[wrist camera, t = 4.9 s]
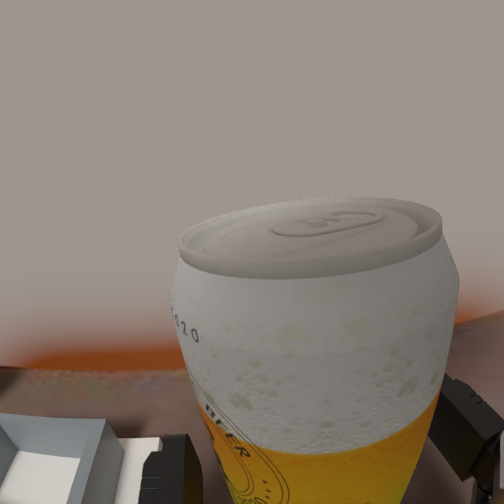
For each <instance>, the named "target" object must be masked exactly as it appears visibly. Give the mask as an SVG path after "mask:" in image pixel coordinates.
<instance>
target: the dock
mask: <svg viewBox="0 0 504 504" xmlns="http://www.w3.org/2000/svg"><path fill="white" fill-rule="evenodd" d="M162 445H163V444H162V441H161V439H160V437H156V438H118V439H117V437H116V435H115V433H114V432H113V430H112V428H111V426H110V424H109V423H108V421H107V419H73V418H50V417H36V416H24V415H14V414H6V413H0V504H138V498H139V491H140V483H141V479H142V477H141V476H142V470H143V463H144V462H145V460H146V459H147V457H148V456H149V454H150V453H151V451H162Z"/></svg>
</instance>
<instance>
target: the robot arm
mask: <svg viewBox="0 0 504 504" xmlns="http://www.w3.org/2000/svg"><path fill="white" fill-rule="evenodd" d="M427 435H428V436H429V437H430V439H431V440H432V441H433V443H434V444H435V446H436V447H437V448H438V450H439V451H440V452H441V454H442V455H443V456H444V458H445V459H446V460H447V462H448V463H449V465H450V466H451V467H452V469H453V470H454V471H455V473H456V474H457V476H458V477H459V478H460V480H461V481H462V482H463V481H465V480H467V479H468V478H470V477H472V476H473V477H474V478H475V481H474V484H473V491H472V498H471V504H504V420H503V419H502V418H501V417H500V416H499V415H498V414H497V413H496V412H495V411H494V410H493V409H492V408H491V407H490V406H489V405H488V404H487V403H486V402H485V401H483V399H482V398H481V397H480V396H479V395H477V394H476V392H475V391H474V390H473V389H472V388H471V387H470V386H469V385H467V384H465V383H463V382H461V381H459V380H457V379H455V380H452V379H451V378H450V377H449V376H448V375H447V374H446V373H444V377H443V381H442V385H441V389H440V393H439V397H438V401H437V404H436V408H435V411H434V415H433V418H432V421H431V425H430V428H429V431H428V434H427ZM141 477H142V479H141V483H140V491H139V498H138V504H203V476H202V468H201V464H200V461H199V458H198V456H197V454H196V451H195V449H194V447H193V444H192V442H191V439H190V437H189V435H188V434H177V435H165V436H164V438H163V445H162V451H151V453H150V454H149V456H148V457H147V459H146V460H145V462H144V463H143V470H142V476H141Z"/></svg>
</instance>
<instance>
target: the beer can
mask: <svg viewBox="0 0 504 504" xmlns="http://www.w3.org/2000/svg"><path fill="white" fill-rule="evenodd" d="M178 247H179V252H180V257H179V261H178V265H177V269H176V273H175V277H174V282H173V286H172V290H171V294H170V300H169V301H170V309H171V313H172V316H173V320H174V324H175V328H176V331H177V335H178V339H179V343H180V346H181V350H182V353H183V357H184V360H185V364H186V367H187V371H188V374H189V377H190V381H191V384H192V387H193V390H194V393H195V397H196V400H197V403H198V406H199V409H200V412H201V415H202V418H203V421H204V424H205V427H206V430H207V433H208V436H209V438H210V441H211V444H212V447H213V449H214V452H215V455H216V458H217V460H218V463H219V466H220V468H221V471H222V473H223V476H224V479H225V481H226V484H227V486H228V489H229V491H230V494H231V496H232V499H233V501H234V503H235V504H400V502H401V500H402V498H403V496H404V494H405V491H406V489H407V487H408V484H409V482H410V480H411V477H412V475H413V472H414V470H415V467H416V465H417V462H418V459H419V457H420V454H421V451H422V449H423V446H424V443H425V440H426V437H427V434H428V431H429V428H430V425H431V421H432V418H433V415H434V411H435V408H436V404H437V401H438V397H439V393H440V389H441V385H442V381H443V377H444V373H445V369H446V364H447V359H448V354H449V349H450V344H451V339H452V333H453V327H454V321H455V314H456V306H457V298H458V290H459V275H458V272H457V269H456V266H455V264H454V261H453V258H452V256H451V253H450V250H449V248H448V245H447V243H446V240H445V238H444V236H443V233H442V218H441V216H440V214H439V213H438V212H436V211H435V210H433V209H432V208H430V207H427V206H424V205H421V204H418V203H414V202H409V201H404V200H397V199H387V198H374V197H335V198H318V199H306V200H297V201H288V202H281V203H274V204H268V205H263V206H257V207H252V208H248V209H243V210H239V211H235V212H231V213H227V214H224V215H220V216H217V217H214V218H212V219H209V220H206V221H203V222H201V223H199V224H197V225H195V226H193V227H191V228H190V229H188V230H186V231H185V232H184V233H183V234H182V235H181V236H180V237H179V240H178Z"/></svg>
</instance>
